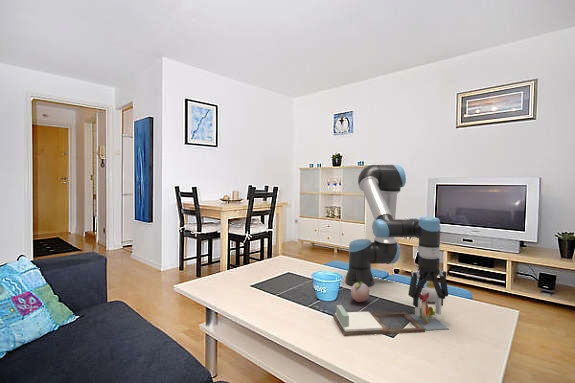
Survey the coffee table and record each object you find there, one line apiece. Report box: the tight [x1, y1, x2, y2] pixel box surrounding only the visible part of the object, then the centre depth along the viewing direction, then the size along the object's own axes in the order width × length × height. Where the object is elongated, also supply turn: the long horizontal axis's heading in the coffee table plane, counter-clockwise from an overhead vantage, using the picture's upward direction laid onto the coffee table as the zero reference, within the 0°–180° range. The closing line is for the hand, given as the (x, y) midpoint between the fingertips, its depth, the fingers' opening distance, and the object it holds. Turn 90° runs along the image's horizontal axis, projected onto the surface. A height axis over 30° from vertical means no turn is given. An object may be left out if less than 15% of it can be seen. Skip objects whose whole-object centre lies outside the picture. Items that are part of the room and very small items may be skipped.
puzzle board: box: [333, 311, 426, 337], centre depth 118 cm, size 15×30×1 cm, turn 96°
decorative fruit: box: [350, 281, 370, 303], centre depth 139 cm, size 9×8×10 cm
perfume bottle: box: [417, 274, 438, 304], centre depth 141 cm, size 8×10×12 cm
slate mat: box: [408, 313, 450, 332], centre depth 120 cm, size 13×9×1 cm
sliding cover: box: [334, 304, 383, 332], centre depth 117 cm, size 14×14×5 cm
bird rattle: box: [419, 293, 436, 323], centre depth 119 cm, size 6×11×9 cm
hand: (427, 314), depth 120 cm, fingers open, 8 cm apart
